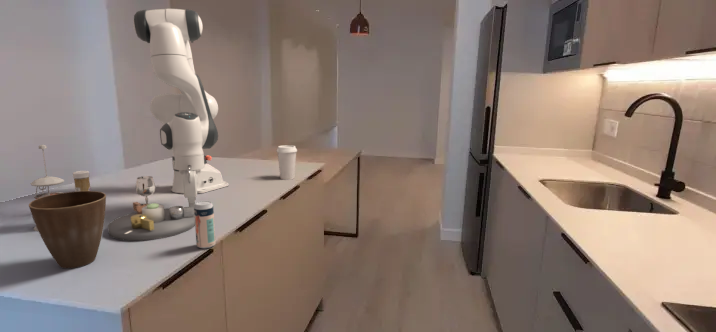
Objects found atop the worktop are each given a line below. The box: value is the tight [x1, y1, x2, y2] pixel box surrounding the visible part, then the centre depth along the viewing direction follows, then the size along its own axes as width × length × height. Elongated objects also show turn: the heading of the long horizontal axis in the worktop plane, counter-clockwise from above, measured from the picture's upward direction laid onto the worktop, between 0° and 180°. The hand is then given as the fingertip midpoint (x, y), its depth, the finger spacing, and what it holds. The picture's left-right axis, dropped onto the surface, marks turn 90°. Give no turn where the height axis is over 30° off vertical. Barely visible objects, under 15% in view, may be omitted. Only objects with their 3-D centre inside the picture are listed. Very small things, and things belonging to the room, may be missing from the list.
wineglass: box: [135, 175, 156, 204], centre depth 138 cm, size 6×6×12 cm
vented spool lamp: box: [30, 144, 65, 232], centre depth 123 cm, size 10×12×25 cm
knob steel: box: [168, 205, 194, 219], centre depth 127 cm, size 8×4×3 cm, turn 110°
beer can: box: [194, 200, 216, 250], centre depth 109 cm, size 5×5×12 cm
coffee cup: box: [276, 144, 298, 181], centre depth 190 cm, size 10×10×15 cm
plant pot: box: [28, 190, 107, 269], centre depth 98 cm, size 15×15×16 cm
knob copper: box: [132, 201, 149, 214], centre depth 130 cm, size 8×4×3 cm, turn 50°
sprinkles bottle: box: [72, 170, 92, 192], centre depth 139 cm, size 5×5×13 cm
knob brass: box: [131, 214, 154, 230], centre depth 117 cm, size 8×4×3 cm, turn 57°
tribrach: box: [107, 202, 195, 242], centre depth 125 cm, size 24×24×7 cm
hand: (192, 203), depth 136 cm, fingers open, 8 cm apart
